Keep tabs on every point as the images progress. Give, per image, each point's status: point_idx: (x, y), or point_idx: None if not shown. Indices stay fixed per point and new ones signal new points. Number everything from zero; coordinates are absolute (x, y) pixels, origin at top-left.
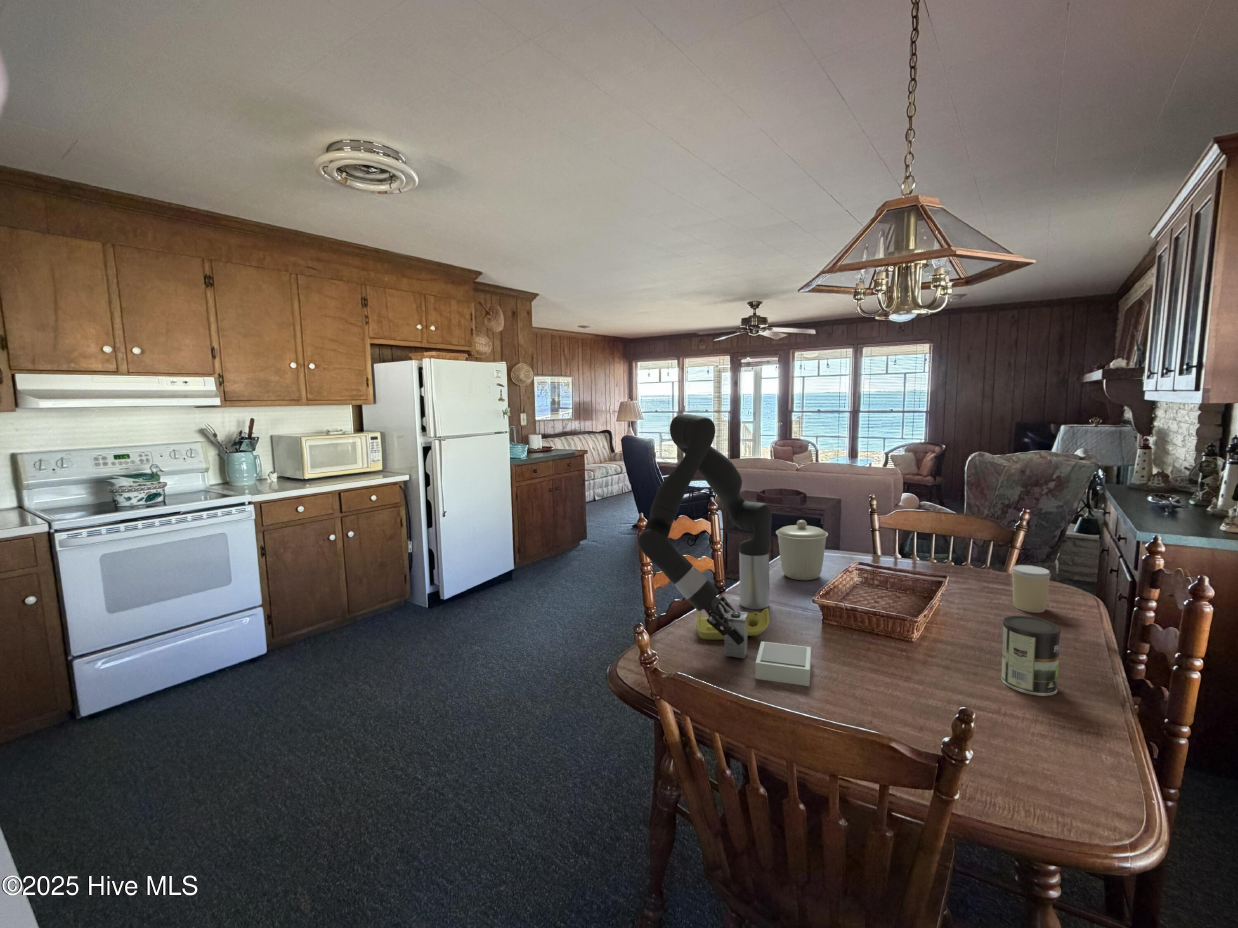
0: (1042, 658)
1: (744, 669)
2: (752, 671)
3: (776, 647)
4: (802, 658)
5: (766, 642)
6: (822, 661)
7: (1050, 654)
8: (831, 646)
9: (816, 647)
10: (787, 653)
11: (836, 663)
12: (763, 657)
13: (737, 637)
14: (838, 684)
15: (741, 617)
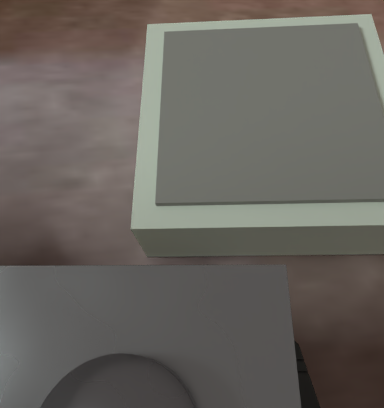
0: None
1: (320, 320)
2: (323, 278)
3: (206, 140)
4: (288, 36)
5: (140, 199)
6: (138, 49)
7: None
8: (11, 33)
9: (24, 70)
10: (260, 90)
11: (143, 17)
12: (365, 186)
13: (303, 369)
14: (290, 8)
15: (195, 329)
